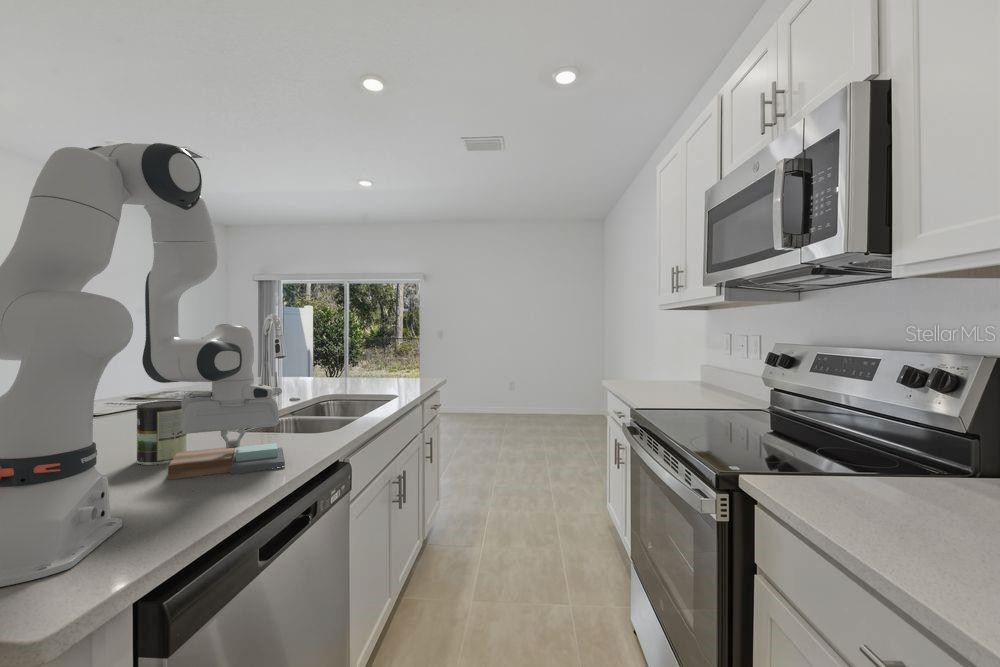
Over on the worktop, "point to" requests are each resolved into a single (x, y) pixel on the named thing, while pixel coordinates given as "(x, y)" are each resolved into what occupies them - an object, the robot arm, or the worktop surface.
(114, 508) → the worktop surface
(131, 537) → the worktop surface
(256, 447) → the block
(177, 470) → the brown square plate
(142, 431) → the coffee can
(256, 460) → the grey flat slab
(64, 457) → the robot arm
